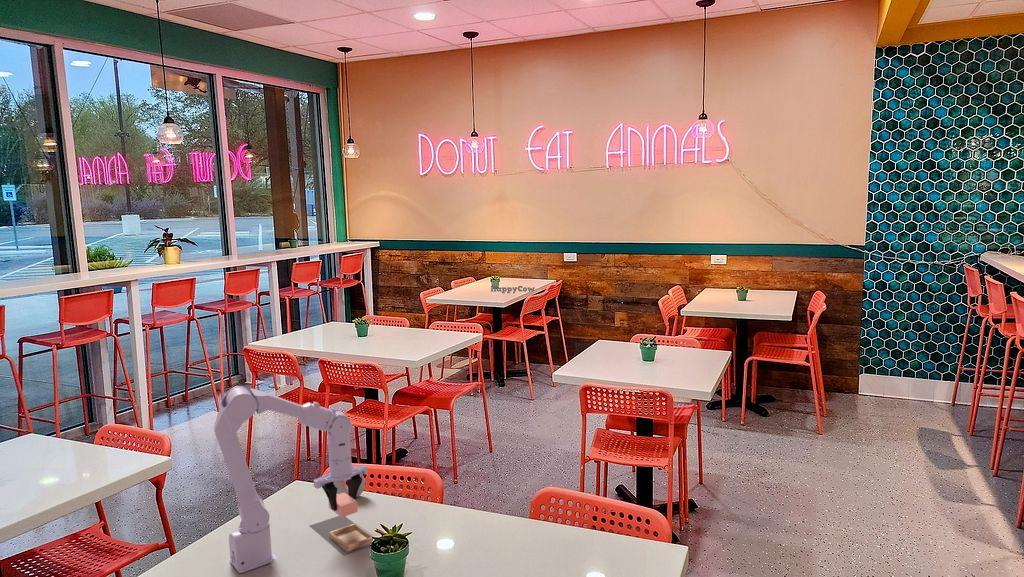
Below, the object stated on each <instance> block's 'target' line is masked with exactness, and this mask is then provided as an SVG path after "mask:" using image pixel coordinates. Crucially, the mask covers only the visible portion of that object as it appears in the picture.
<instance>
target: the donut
mask: <svg viewBox="0 0 1024 577" xmlns="http://www.w3.org/2000/svg"><path fill="white" fill-rule="evenodd" d="M360 477H361V478H362V483H361V485H360V487H359V489H358V492H357V496H356V498H358V497H360V496H361V494H362V493H363V492H364V490H365V487H366V480H365V477H364V474H361V475H360ZM333 484H335V487H336V488H338V489H337V495H338V494H341V493H346V494H347V495H348V486H347V485H346V484H345V481H344V480H342V481H338V482H335V483H333Z"/></svg>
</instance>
